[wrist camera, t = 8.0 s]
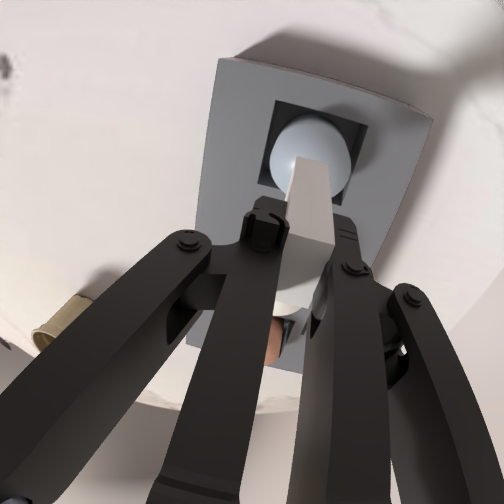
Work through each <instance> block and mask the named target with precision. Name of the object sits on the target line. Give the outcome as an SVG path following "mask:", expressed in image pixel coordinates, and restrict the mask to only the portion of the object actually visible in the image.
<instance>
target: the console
mask: <svg viewBox="0 0 504 504" xmlns="http://www.w3.org/2000/svg"><path fill="white" fill-rule="evenodd" d="M304 114H316V115H321V116H323V117H326V118H328V119H329V120H331V121H332V122H334V123H335V124H336V125H337V126H338V128H339V129H340V130H341V132H342V134H343V137H344V140H345V143H346V146H347V149H348V152H349V156H350V160H351V172H350V176H349V179H348V181H347V183H346V185H345V186H344V188H343V189H342V190H341V191H340V192H339V193H338V194H336V195H335V196H334V197H332V198H331V200H332V211H333V213H335V214H339V215H342V216H346V217H349V218H351V220H352V221H353V222H354V224H355V225H356V228H357V235H358V239H359V241H358V242H359V245H360V251H361V257H362V261H364V262H365V263H366V264H367V265H368V266H369V267H370V268H371V266H372V264H373V262H374V260H375V258H376V256H377V254H378V252H379V250H380V248H381V246H382V244H383V242H384V239H385V237H386V235H387V233H388V231H389V229H390V226H391V224H392V222H393V220H394V218H395V215H396V213H397V211H398V209H399V206H400V204H401V202H402V199H403V197H404V195H405V192H406V190H407V188H408V185H409V183H410V180H411V178H412V175H413V173H414V170H415V168H416V165H417V163H418V160H419V158H420V155H421V152H422V150H423V147H424V144H425V142H426V139H427V136H428V133H429V131H430V128H431V125H432V122H433V119H432V118H431V117H429V116H428V115H426V114H425V113H423V112H421V111H420V110H418V109H417V108H415V107H412V106H410V105H407V104H405V103H402V102H400V101H397V100H394V99H392V98H389V97H386V96H383V95H381V94H378V93H375V92H372V91H369V90H366V89H363V88H360V87H357V86H354V85H351V84H348V83H344V82H341V81H338V80H334V79H331V78H327V77H324V76H320V75H316V74H312V73H309V72H305V71H301V70H296V69H292V68H288V67H283V66H279V65H274V64H269V63H264V62H259V61H253V60H248V59H242V58H236V57H229V58H219V59H218V64H217V70H216V76H215V82H214V88H213V94H212V100H211V107H210V113H209V120H208V127H207V134H206V141H205V148H204V155H203V163H202V171H201V179H200V187H199V195H198V204H197V213H196V223H195V231H199V232H202V233H203V234H205V235H207V236H208V237H209V239H210V240H211V242H212V245H229V244H233V243H235V242H237V241H239V238H240V233H241V228H242V223H243V218H244V215H245V214H246V213H247V212H249V211H252V209H253V206H254V203H255V200H257V199H258V198H260V197H261V196H267V197H271V198H275V199H279V200H283V201H285V197H286V194H285V193H284V192H283V191H282V190H281V189H280V188H279V187H278V186H277V185H276V183H275V181H274V180H273V177H272V175H271V171H270V156H271V153H272V150H273V147H274V145H275V143H276V140H277V138H278V136H279V133H280V131H281V130H282V128H283V127H284V125H285V124H286V123H287V122H289V121H290V120H291V119H293V118H295V117H297V116H300V115H304ZM312 303H313V299H312V301H311V303H310V305H309V308H308V309H307V308H303V307H302V308H301V309H299V310H298V311H296V312H294V313H292V314H289V315H284V316H277V317H281V318H284V327H283V333H282V340H281V346H280V352H279V357H278V359H277V360H276V361H275V362H273V363H272V364H269V365H265V366H269V367H273V368H278V369H282V370H286V371H291V372H296V373H300V374H303V365H304V354H305V342H306V331H305V333H304V335H301V332H302V329H303V327H304V325H305V323H306V321H307V318H308V316H309V314H310V312H311V310H312ZM213 313H214V310H203V313H202V315H201V316H200V317H199V318H198V320H197V321H196V322H195V324H194V325H193V326H192V328H191V329H190V330H189V331H188V333H187V334H186V344H188V345H191V346H194V347H198V348H202V345H203V342H204V339H205V336H206V334H207V331H208V328H209V325H210V322H211V319H212V316H213Z"/></svg>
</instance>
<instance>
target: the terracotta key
mask: <svg viewBox="0 0 504 504" xmlns="http://www.w3.org/2000/svg"><path fill="white" fill-rule="evenodd" d="M283 327H284V318H281V317H277V316H272V322H271V328H270V333H269V339H268V345H267V351H266V356H265V362H264V366H265V365H269V364H272V363H273V362H275V361H276V360H277V359H278V357H279V352H280V346H281V340H282V333H283Z"/></svg>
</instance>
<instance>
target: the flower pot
mask: <svg viewBox="0 0 504 504" xmlns="http://www.w3.org/2000/svg"><path fill="white" fill-rule="evenodd" d="M92 303H93V301H92V300H90V299H88V298H82V297H80V296H79V295H76V296H73V297H71V299H70V300H69V301H68V302H67V303H66V304H65V305H64V306H63V307H62V308H61V309H60V310H59V311H58V312H57V313H56V314H55V315H54V316H53V317H52V318H51V319H50V320H49V321H48V322H47V323H46V324H43V325H41V326H40V327H39V329H34V330H33V331H32V333H31V339H32V341H33V343H34V345H35V347H36V348H37V350H38V351H39V352H40V353H41V352H42V351H43V350H44V349H45V348H46V347H47V346H48V345H49V344H50V343H51V342H52V341H53V340H54V339H55V338H56V337H57V336H58V335H59V334H60V333H61V332H62V331H63V330H64V329H65V328H66V327H67V326H68V325H69V324H70V323H71V322H73V321H74V320H75V319H76V318H77V317H78V316H79V315H80V314H81V313H82V312H83V311H84V310H85V309H86V308H87V307H88V306H90V305H91V304H92Z"/></svg>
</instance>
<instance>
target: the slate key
mask: <svg viewBox="0 0 504 504" xmlns="http://www.w3.org/2000/svg"><path fill="white" fill-rule="evenodd" d="M296 156H299V157H303V158H306V159H310V160H314V161H317V162H321V163H325V164H328V170H329V180H330V189H331V198H332V197H334V196H335V195H336V194H338V193H339V192H340V191H341V190H342V189H343V188H344V186H345V185H346V183H347V181H348V179H349V176H350V172H351V160H350V156H349V152H348V149H347V146H346V143H345V140H344V137H343V134H342V132H341V130H340V129H339V128H338V126H337V125H336V124H335V123H334V122H332V121H331V120H329V119H328V118H326V117H323V116H321V115H316V114H304V115H300V116H297V117H295V118H293V119H291V120H290V121H289V122H287V123H286V124H285V125H284V127H283V128H282V130H281V131H280V133H279V136H278V138H277V140H276V143H275V145H274V147H273V150H272V153H271V156H270V171H271V175H272V177H273V180H274V181H275V183H276V185H277V186H278V187H279V188H280V189H281V190H282V191H283V192H284V193H285V194H287V190H288V186H289V182H290V179H291V175H292V171H293V167H294V164H295V160H296Z"/></svg>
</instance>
